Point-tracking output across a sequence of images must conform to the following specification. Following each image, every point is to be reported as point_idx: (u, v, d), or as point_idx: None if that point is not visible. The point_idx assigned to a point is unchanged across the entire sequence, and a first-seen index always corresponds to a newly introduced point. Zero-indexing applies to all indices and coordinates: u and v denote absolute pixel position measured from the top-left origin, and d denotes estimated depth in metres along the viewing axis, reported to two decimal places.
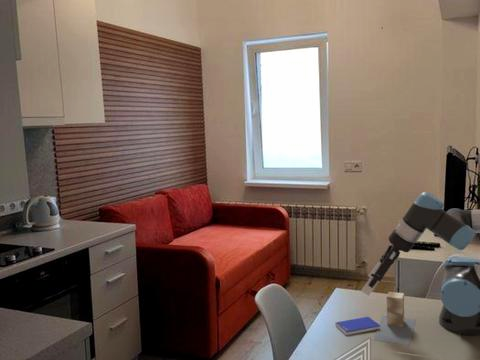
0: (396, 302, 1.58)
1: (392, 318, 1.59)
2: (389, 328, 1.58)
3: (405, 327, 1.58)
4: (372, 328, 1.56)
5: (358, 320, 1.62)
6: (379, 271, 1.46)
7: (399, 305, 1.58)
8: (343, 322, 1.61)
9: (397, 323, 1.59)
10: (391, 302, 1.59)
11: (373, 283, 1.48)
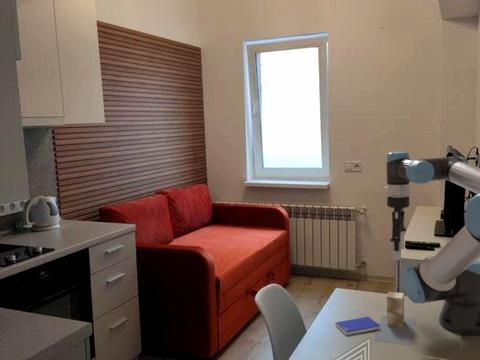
0: (396, 302, 1.58)
1: (392, 318, 1.59)
2: (389, 328, 1.58)
3: (405, 327, 1.58)
4: (372, 328, 1.56)
5: (358, 320, 1.62)
6: (394, 233, 1.60)
7: (399, 305, 1.58)
8: (343, 322, 1.61)
9: (397, 323, 1.59)
10: (391, 302, 1.59)
11: (396, 246, 1.61)
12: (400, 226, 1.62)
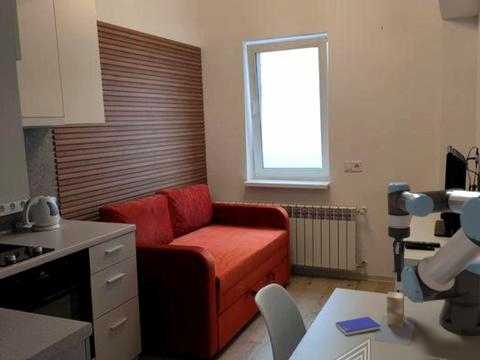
0: (396, 302, 1.58)
1: (392, 318, 1.59)
2: (389, 328, 1.58)
3: (405, 327, 1.58)
4: (372, 328, 1.56)
5: (358, 320, 1.62)
6: (396, 267, 1.67)
7: (399, 305, 1.58)
8: (343, 322, 1.61)
9: (397, 323, 1.59)
10: (391, 302, 1.59)
11: (399, 277, 1.69)
12: (401, 258, 1.68)
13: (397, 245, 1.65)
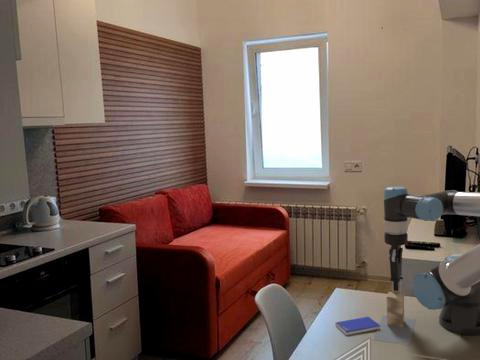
0: (396, 302, 1.58)
1: (392, 318, 1.59)
2: (389, 328, 1.58)
3: (405, 327, 1.58)
4: (372, 328, 1.56)
5: (358, 320, 1.62)
6: (392, 275, 1.59)
7: (399, 305, 1.58)
8: (343, 322, 1.61)
9: (397, 323, 1.59)
10: (391, 302, 1.59)
11: (396, 286, 1.61)
12: (398, 266, 1.60)
13: (393, 252, 1.58)
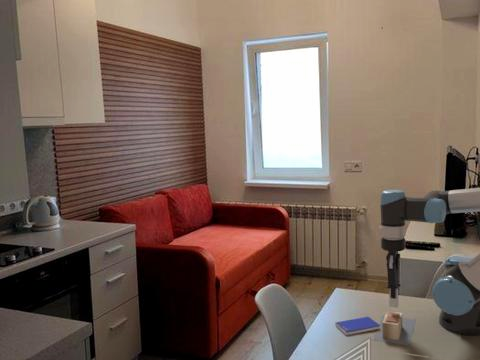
0: None
1: None
2: None
3: (405, 327, 1.58)
4: (372, 328, 1.56)
5: (358, 320, 1.62)
6: (390, 282, 1.52)
7: None
8: (343, 322, 1.61)
9: None
10: None
11: (393, 293, 1.55)
12: (396, 273, 1.53)
13: (391, 259, 1.51)
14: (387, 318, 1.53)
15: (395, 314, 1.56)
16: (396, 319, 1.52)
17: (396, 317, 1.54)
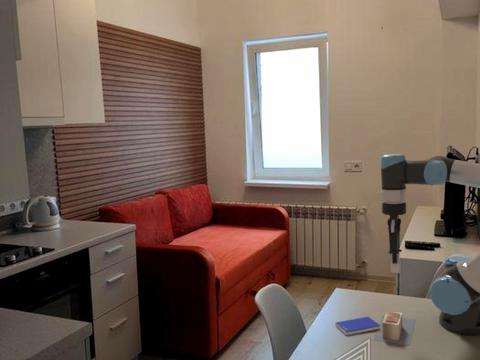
0: None
1: None
2: None
3: (405, 327, 1.58)
4: (372, 328, 1.56)
5: (358, 320, 1.62)
6: (391, 246, 1.51)
7: None
8: (343, 322, 1.61)
9: None
10: None
11: (395, 258, 1.54)
12: (397, 237, 1.52)
13: (392, 222, 1.50)
14: (387, 318, 1.53)
15: (395, 314, 1.56)
16: (396, 319, 1.52)
17: (396, 317, 1.54)
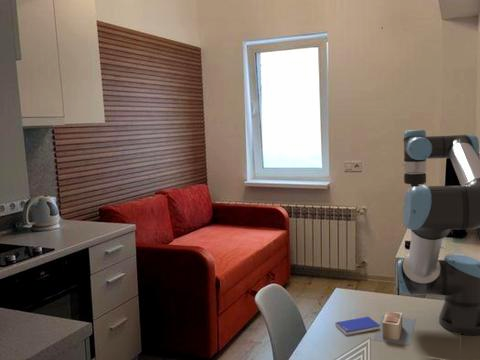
0: None
1: None
2: None
3: (405, 327, 1.58)
4: (372, 328, 1.56)
5: (358, 320, 1.62)
6: None
7: None
8: (343, 322, 1.61)
9: None
10: None
11: None
12: None
13: None
14: (387, 318, 1.53)
15: (395, 314, 1.56)
16: (396, 319, 1.52)
17: (396, 317, 1.54)
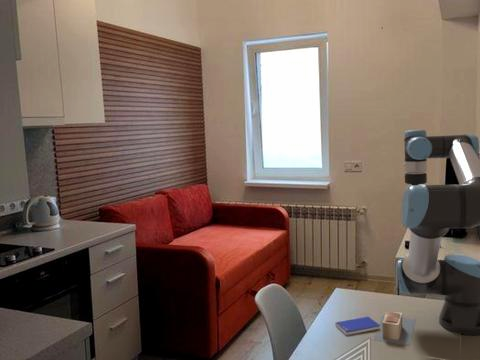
0: None
1: None
2: None
3: (405, 327, 1.58)
4: (372, 328, 1.56)
5: (358, 320, 1.62)
6: None
7: None
8: (343, 322, 1.61)
9: None
10: None
11: None
12: None
13: None
14: (387, 318, 1.53)
15: (395, 314, 1.56)
16: (396, 319, 1.52)
17: (396, 317, 1.54)
